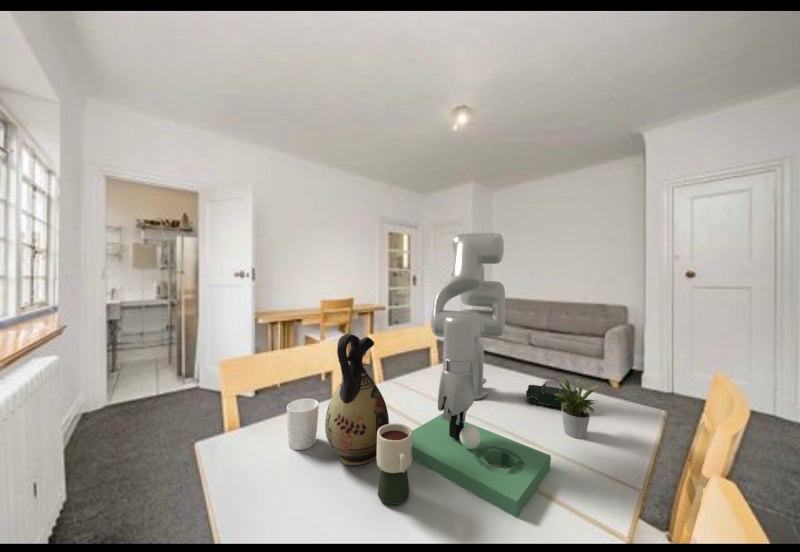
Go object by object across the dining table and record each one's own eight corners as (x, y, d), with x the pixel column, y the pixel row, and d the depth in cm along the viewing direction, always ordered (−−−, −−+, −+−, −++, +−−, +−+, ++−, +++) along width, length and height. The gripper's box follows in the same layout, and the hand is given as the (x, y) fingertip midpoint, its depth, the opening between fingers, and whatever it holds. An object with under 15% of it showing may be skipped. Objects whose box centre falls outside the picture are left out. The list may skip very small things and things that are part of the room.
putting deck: (397, 450, 76) (398, 438, 76) (443, 422, 91) (443, 413, 91) (516, 517, 56) (516, 501, 56) (550, 468, 71) (550, 455, 71)
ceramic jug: (350, 431, 85) (352, 325, 85) (398, 447, 78) (401, 331, 77) (305, 465, 70) (307, 335, 69) (360, 488, 63) (363, 344, 62)
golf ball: (471, 418, 75) (487, 432, 72) (466, 433, 77) (482, 448, 74) (457, 426, 72) (474, 441, 69) (453, 441, 74) (469, 457, 71)
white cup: (309, 431, 84) (309, 396, 84) (323, 443, 79) (324, 405, 79) (281, 442, 79) (281, 404, 79) (294, 455, 73) (295, 414, 73)
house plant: (535, 432, 87) (536, 375, 86) (550, 416, 97) (551, 365, 97) (593, 453, 77) (595, 389, 77) (603, 433, 87) (605, 376, 87)
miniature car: (527, 395, 114) (527, 374, 114) (582, 406, 105) (583, 383, 105) (524, 404, 106) (524, 381, 106) (584, 417, 97) (584, 392, 97)
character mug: (420, 512, 57) (422, 443, 57) (384, 522, 54) (385, 450, 54) (400, 475, 67) (402, 416, 67) (369, 482, 65) (370, 421, 64)
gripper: (461, 356, 84) (459, 422, 84) (427, 367, 73) (426, 443, 73) (486, 362, 79) (484, 432, 79) (454, 375, 68) (452, 456, 68)
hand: (456, 437), depth 76 cm, fingers closed
